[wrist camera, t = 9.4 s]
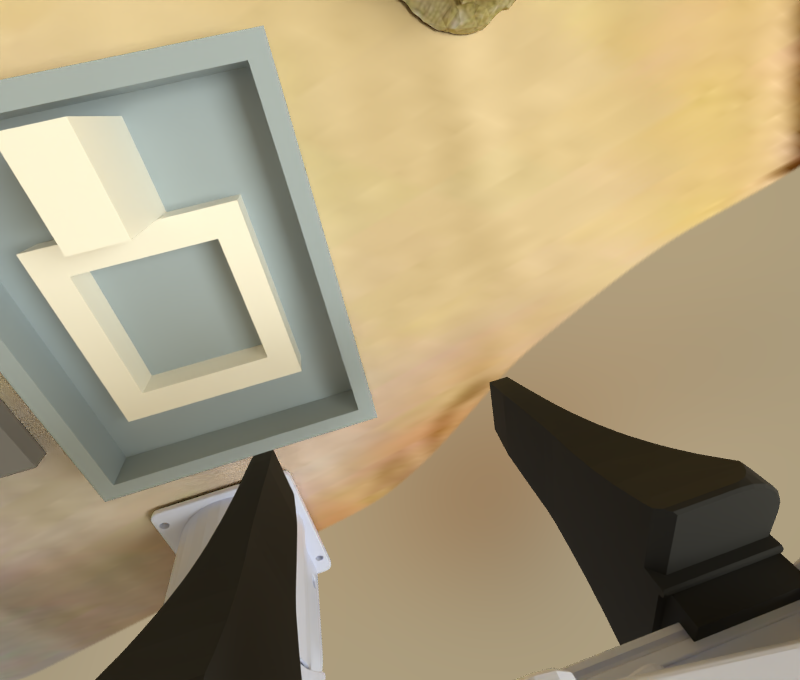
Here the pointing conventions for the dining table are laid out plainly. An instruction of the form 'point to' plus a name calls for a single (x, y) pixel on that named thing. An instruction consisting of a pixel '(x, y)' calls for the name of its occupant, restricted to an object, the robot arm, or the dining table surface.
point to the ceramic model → (458, 13)
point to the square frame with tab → (130, 240)
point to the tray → (182, 268)
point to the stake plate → (16, 445)
